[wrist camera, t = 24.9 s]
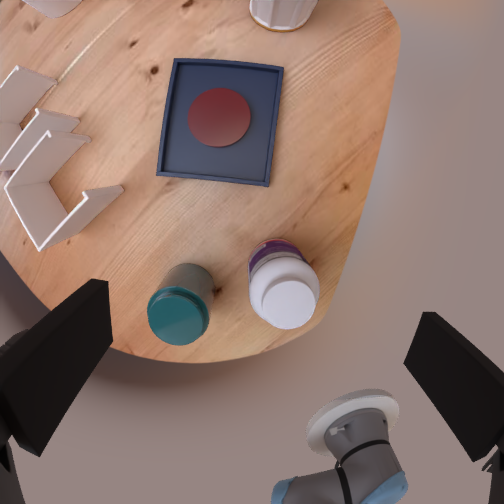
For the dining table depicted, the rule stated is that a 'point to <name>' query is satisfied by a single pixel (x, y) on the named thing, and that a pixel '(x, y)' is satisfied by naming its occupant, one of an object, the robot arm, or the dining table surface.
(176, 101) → the tray
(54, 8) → the tall pillar cylinder
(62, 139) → the storage container
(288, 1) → the cup
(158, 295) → the jar
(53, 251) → the dining table surface
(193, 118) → the lid
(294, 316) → the pill bottle
